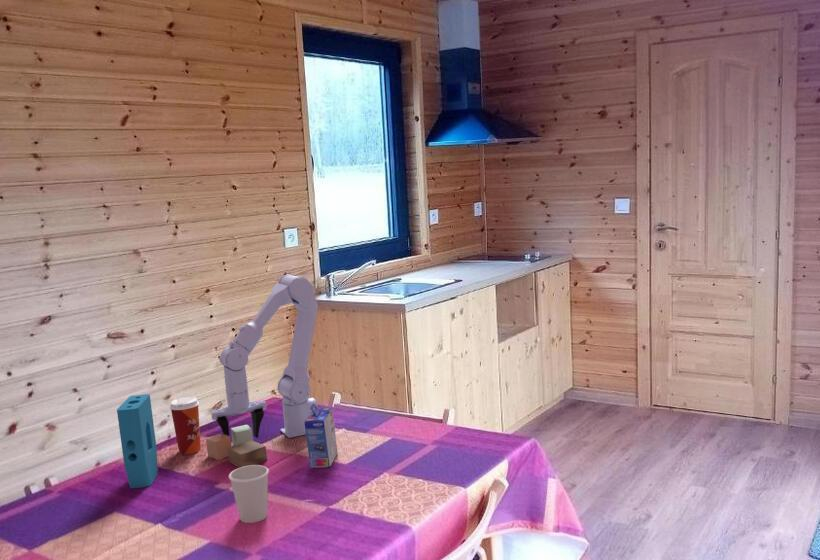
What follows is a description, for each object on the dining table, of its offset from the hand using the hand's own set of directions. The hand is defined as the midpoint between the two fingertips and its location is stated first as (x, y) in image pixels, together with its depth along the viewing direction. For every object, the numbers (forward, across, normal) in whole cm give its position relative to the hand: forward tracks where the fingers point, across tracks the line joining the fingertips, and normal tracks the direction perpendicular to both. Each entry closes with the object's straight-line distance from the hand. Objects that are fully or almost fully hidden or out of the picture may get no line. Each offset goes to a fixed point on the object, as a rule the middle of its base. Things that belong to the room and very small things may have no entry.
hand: (242, 439), depth 208 cm
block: (+2, -27, -8) cm, 28 cm away
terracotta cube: (+2, -7, -3) cm, 8 cm away
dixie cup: (+2, -10, -45) cm, 46 cm away
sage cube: (+2, 0, 0) cm, 2 cm away
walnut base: (+2, -2, -12) cm, 12 cm away
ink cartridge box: (+2, +14, -24) cm, 28 cm away
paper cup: (+2, -13, +6) cm, 14 cm away
